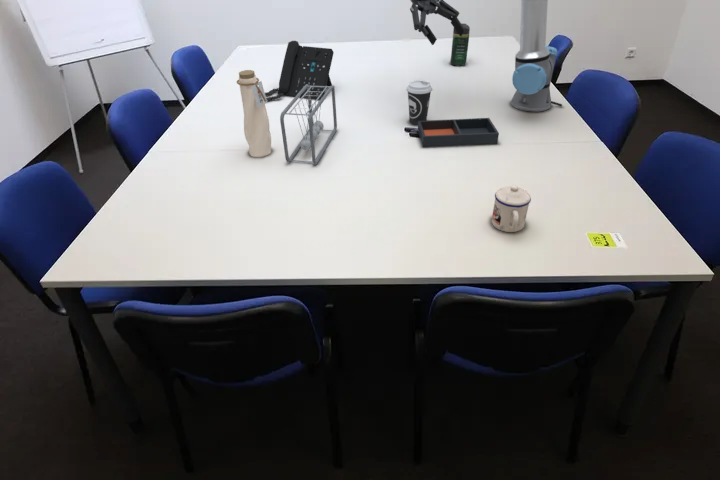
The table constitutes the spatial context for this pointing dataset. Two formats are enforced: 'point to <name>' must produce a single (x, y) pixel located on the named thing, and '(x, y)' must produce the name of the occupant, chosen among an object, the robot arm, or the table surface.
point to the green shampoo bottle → (460, 46)
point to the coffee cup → (418, 100)
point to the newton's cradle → (313, 127)
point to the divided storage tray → (457, 132)
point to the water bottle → (255, 114)
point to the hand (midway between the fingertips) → (448, 37)
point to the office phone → (304, 71)
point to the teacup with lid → (510, 208)
